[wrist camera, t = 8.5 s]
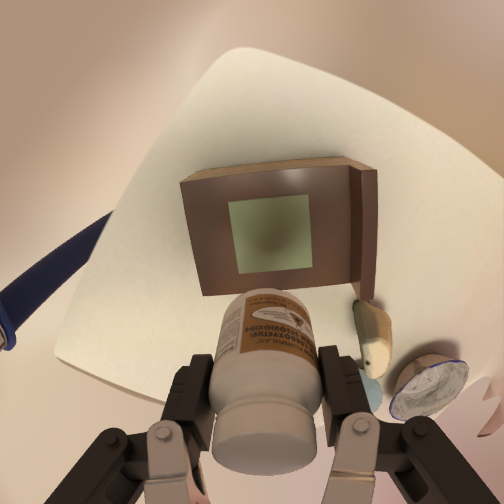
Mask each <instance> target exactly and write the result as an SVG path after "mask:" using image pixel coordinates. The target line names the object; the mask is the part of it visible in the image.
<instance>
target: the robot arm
mask: <svg viewBox="0 0 504 504" xmlns="http://www.w3.org/2000/svg"><path fill="white" fill-rule="evenodd" d="M7 344H8V335H7V332H6V330H5V328H4V326H3V324H2V323H1V321H0V352H1V350H2V349H3V348H5V347H6V346H7ZM318 363H319V368H320V374H321V379H322V388H323V397H322V401H321V403H322V409H323V416H324V423H325V430H326V438H327V445H328V447H332V446H334V448H335V457H334V460H333V464H332V468H331V472H330V475H329V479H328V482H327V486H326V489H325V493H324V496H323V499H322V503H321V504H371V503H372V497H373V492H374V487H375V476H374V471H383V472H388V474H389V475H390V477H391V478H392V480H393V482H394V483H395V485H396V486H397V488H398V489H399V491H400V492H401V494H402V495H403V497H404V499H405V500H406V502H407V503H408V504H500V502H499V501H498V500H497V499H496V497H495V496H494V495H493V493H492V492H491V491H490V489H489V488H488V487H487V486H486V484H485V483H484V482H483V481H482V479H481V478H480V477H479V475H478V474H477V473H476V472H475V470H474V469H473V468H472V467H471V466H470V464H469V463H468V462H467V461H466V459H465V458H464V457H463V455H462V454H461V453H460V452H459V451H458V449H457V448H456V447H455V446H454V444H453V443H452V442H451V441H450V440H449V438H448V437H447V436H446V435H445V433H444V432H443V431H442V430H441V429H440V427H439V426H438V425H437V424H436V423H435V421H434V420H432V419H431V418H429V417H427V416H414V417H412V418H410V419H408V420H407V421H406V422H405V424H400V423H387V422H383V421H381V420H379V419H378V418H376V417H375V416H374V415H373V413H372V411H371V409H370V405H369V402H368V398H367V395H366V392H365V388H364V385H363V382H362V378H361V375H360V372H359V369H358V365H357V363H356V362H355V361H354V360H353V359H352V358H351V357H350V356H342V357H340V356H339V353H338V349H337V346H336V345H333V346H325V347H319V349H318ZM213 365H214V361H213V358H212V355H211V354H194V355H193V356H192V359H191V363H190V366H182V367H181V368H180V369H179V371H178V372H177V373H176V374H175V376H174V379H173V382H172V386H171V389H170V393H169V395H168V398H167V401H166V404H165V407H164V410H163V414H162V417H161V420H160V421H159V422H157V423H155V424H153V425H152V426H151V427H150V428H149V430H148V431H147V432H144V433H138V434H132V435H126V433H125V432H124V431H123V430H121V429H119V428H109V429H106V430H104V431H103V432H101V433H100V434H99V436H98V437H97V438H96V439H95V441H94V442H93V443H92V444H91V446H90V447H89V448H88V449H87V450H86V452H85V453H84V454H83V456H82V457H81V458H80V459H79V460H78V462H77V463H76V464H75V465H74V467H73V468H72V469H71V470H70V472H69V473H68V474H67V475H66V477H65V478H64V479H63V480H62V482H61V483H60V484H59V485H58V487H57V488H56V489H55V490H54V492H53V493H52V494H51V495H50V497H49V498H48V499H47V500H46V502H45V503H44V504H135V503H136V501H137V500H138V498H139V497H140V495H141V494H142V492H143V491H144V494H145V504H210V501H209V499H208V495H207V491H206V486H205V482H204V478H203V473H202V468H201V463H200V461H199V457H200V452H201V451H209V447H210V441H211V434H212V428H213V422H214V417H215V412H214V411H213V409H212V407H211V404H210V401H209V395H208V391H209V384H210V378H211V373H212V369H213Z"/></svg>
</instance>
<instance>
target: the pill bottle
mask: <svg viewBox="0 0 504 504" xmlns="http://www.w3.org/2000/svg"><path fill="white" fill-rule="evenodd" d="M208 395H209V401H210V404H211V407H212V409H213V411H214V412H215V413H216V415H217V417H216V423H215V426H214V433H213V442H212V454H213V457H214V459H215V460H216V461H217V462H218V463H219V464H221V465H222V466H224V467H226V468H228V469H230V470H233V471H236V472H239V473H244V474H250V475H262V476H266V475H267V476H271V475H279V474H286V473H290V472H294V471H296V470H299V469H301V468H303V467H305V466H307V465H308V464H310V463H311V462H312V461H313V460H314V458H315V457H316V454H317V443H316V428H315V424H314V418H313V415H314V414H315V413H316V411H317V410H318V408H319V406H320V404H321V401H322V397H323V388H322V379H321V374H320V368H319V363H318V357H317V352H316V347H315V341H314V336H313V332H312V327H311V322H310V317H309V313H308V311H307V309H306V307H305V306H304V305H303V303H302V302H301V301H300V300H299V299H297V298H296V297H294V296H293V295H291V294H290V293H287V292H284V291H281V290H278V289H273V288H262V289H256V290H252V291H248V292H246V293H244V294H241V295H240V296H239V297H237V298H236V299H235V300H234V301H233V302H232V303H231V304H230V305H229V307H228V308H227V310H226V312H225V315H224V318H223V322H222V326H221V331H220V336H219V340H218V345H217V350H216V355H215V360H214V365H213V369H212V373H211V378H210V384H209V391H208Z"/></svg>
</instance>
